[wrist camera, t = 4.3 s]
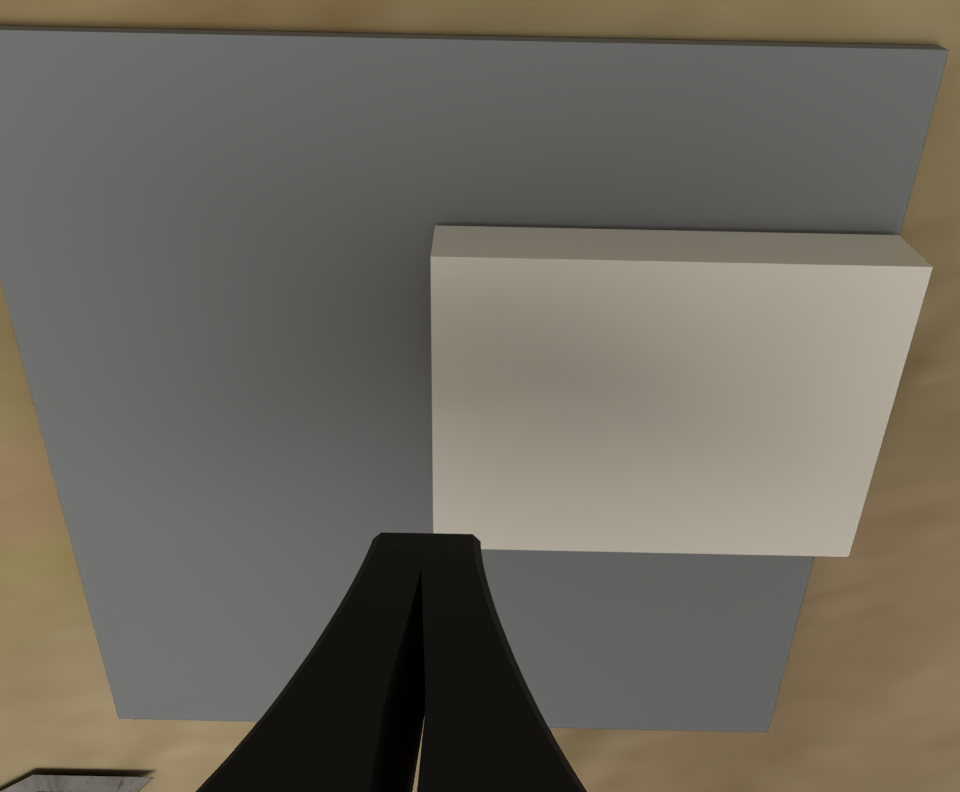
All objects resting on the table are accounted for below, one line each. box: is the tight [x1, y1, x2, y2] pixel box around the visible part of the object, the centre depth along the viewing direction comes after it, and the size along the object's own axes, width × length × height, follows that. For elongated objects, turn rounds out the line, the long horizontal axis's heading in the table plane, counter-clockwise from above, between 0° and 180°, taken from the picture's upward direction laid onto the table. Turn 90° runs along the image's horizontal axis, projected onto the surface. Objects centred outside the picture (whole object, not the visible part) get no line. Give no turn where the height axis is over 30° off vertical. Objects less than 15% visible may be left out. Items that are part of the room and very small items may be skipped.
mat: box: [0, 26, 949, 732], centre depth 19 cm, size 16×16×1 cm
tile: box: [430, 225, 933, 557], centre depth 17 cm, size 2×6×8 cm
